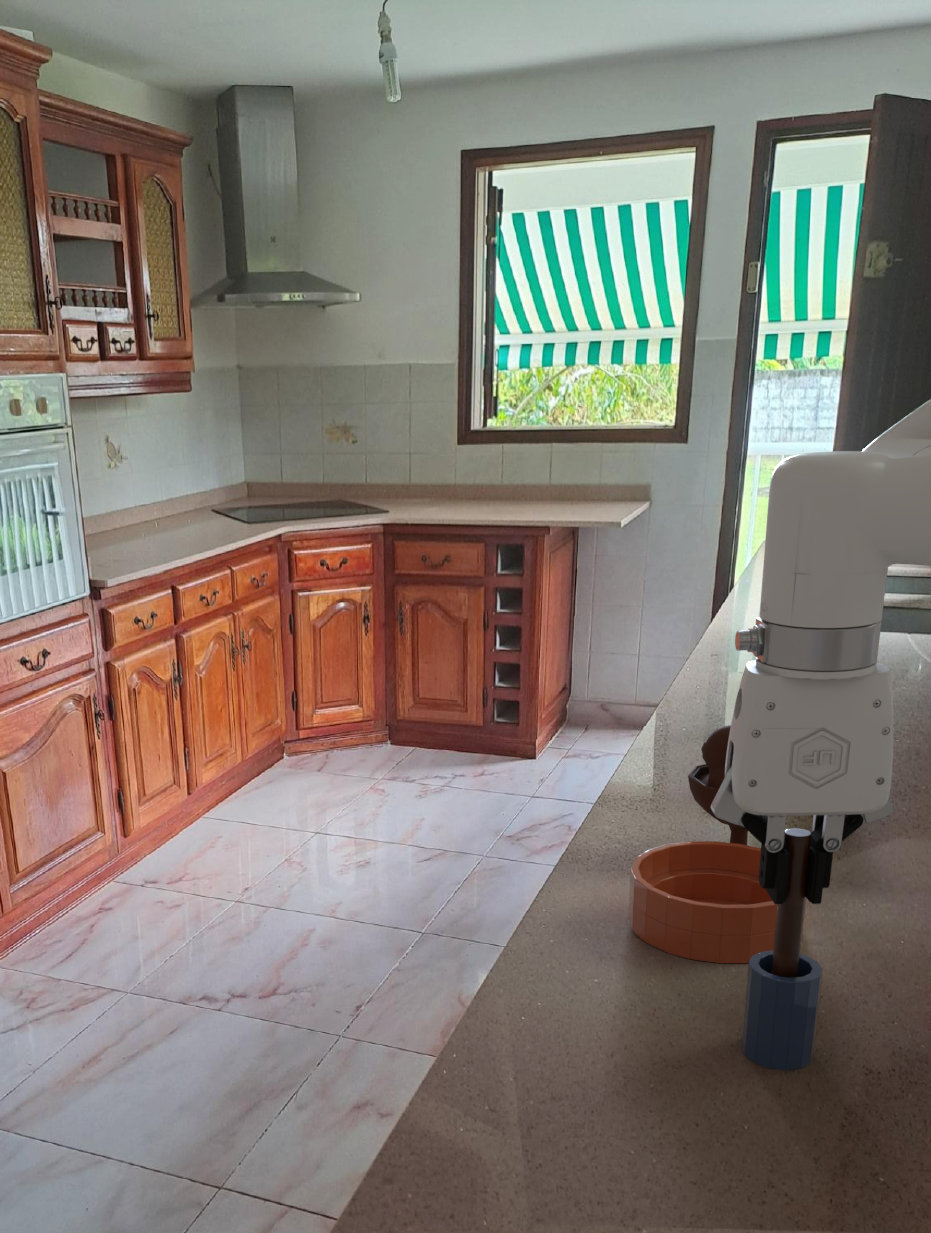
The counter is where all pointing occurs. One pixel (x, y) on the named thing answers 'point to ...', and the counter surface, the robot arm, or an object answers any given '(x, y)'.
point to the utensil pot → (781, 1013)
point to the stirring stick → (792, 905)
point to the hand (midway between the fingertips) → (792, 894)
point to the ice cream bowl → (714, 778)
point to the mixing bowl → (702, 901)
